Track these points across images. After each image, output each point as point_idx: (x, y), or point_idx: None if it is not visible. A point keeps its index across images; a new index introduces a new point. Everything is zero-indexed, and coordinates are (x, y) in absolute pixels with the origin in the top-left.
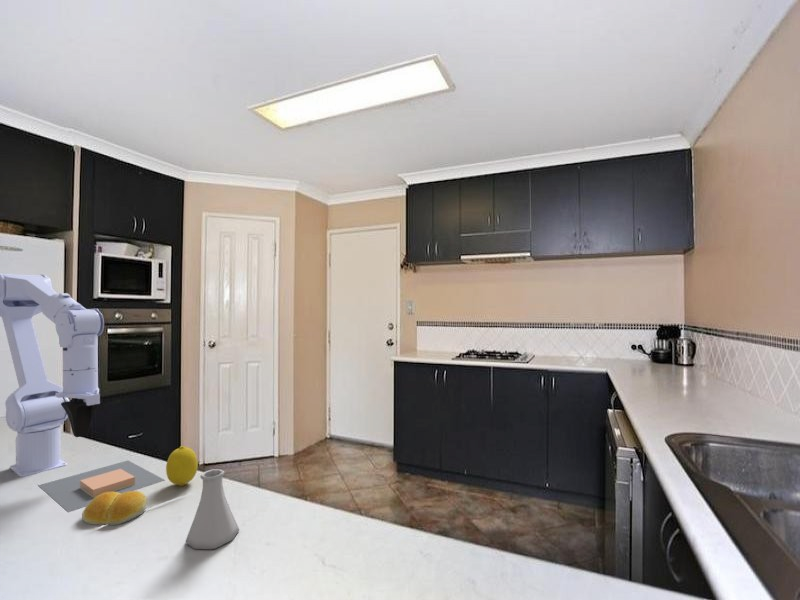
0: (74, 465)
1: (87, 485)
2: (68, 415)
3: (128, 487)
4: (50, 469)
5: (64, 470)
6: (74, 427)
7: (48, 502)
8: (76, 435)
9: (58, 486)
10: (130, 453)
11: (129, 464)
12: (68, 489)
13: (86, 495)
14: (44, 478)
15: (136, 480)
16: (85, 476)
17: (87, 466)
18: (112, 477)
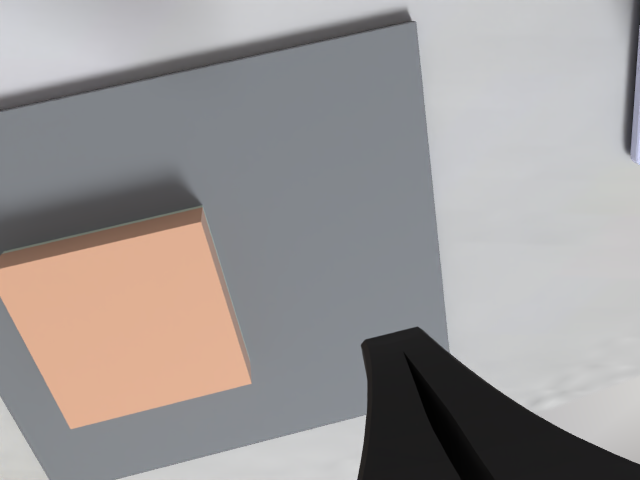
0: (618, 190)
1: (80, 250)
2: (523, 447)
3: None
4: (637, 88)
5: (581, 147)
6: (368, 397)
7: (118, 61)
8: (365, 351)
9: (310, 115)
10: (567, 398)
11: None
12: (221, 156)
13: (63, 226)
14: (538, 55)
15: None
16: (366, 232)
17: (546, 241)
18: (134, 350)
